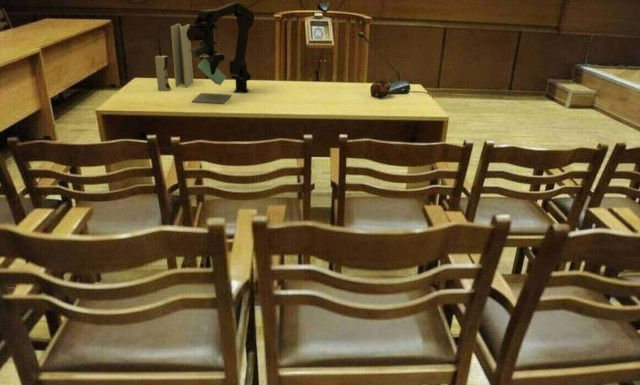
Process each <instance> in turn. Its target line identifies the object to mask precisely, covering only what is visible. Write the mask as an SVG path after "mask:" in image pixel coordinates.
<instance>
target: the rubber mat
mask: <svg viewBox="0 0 640 385" xmlns="http://www.w3.org/2000/svg"><path fill="white" fill-rule="evenodd" d="M231 97H232V94H225V93H209V92H208V93H206V92H201V93H199V94H198V95H197V96H196V97H195V98H194V99H193V100H191V103H193V104H194V103H200V104H214V105H217V104H218V105H225V103H226V102H227V101H228V100H229V99H230V98H231Z"/></svg>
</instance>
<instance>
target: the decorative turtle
mask: <svg viewBox="0 0 640 385" xmlns="http://www.w3.org/2000/svg"><path fill="white" fill-rule="evenodd" d="M369 90H370V95H371V97H374V96H376V95H377V96H378V97H379V98H380V99H382V98H384V97H386V96H388V94H389V92H390V90H391V85H390V84H389V83H388V82H386V81H385V80H377V81H374V83H372V84H371V86H370V89H369Z"/></svg>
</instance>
